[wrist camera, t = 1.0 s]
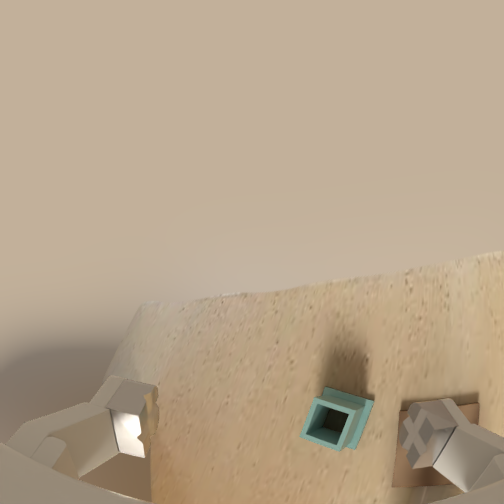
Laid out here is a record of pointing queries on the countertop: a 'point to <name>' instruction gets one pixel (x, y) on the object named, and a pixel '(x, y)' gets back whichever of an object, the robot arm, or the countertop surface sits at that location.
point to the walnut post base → (424, 475)
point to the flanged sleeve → (344, 403)
